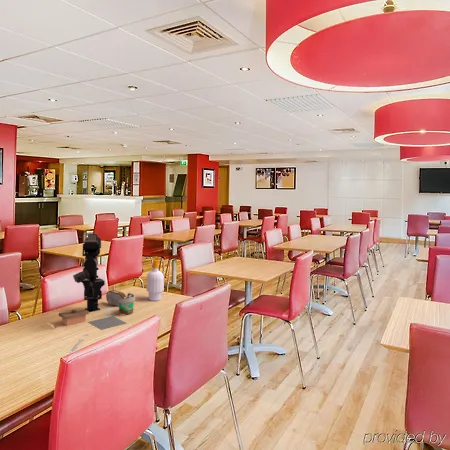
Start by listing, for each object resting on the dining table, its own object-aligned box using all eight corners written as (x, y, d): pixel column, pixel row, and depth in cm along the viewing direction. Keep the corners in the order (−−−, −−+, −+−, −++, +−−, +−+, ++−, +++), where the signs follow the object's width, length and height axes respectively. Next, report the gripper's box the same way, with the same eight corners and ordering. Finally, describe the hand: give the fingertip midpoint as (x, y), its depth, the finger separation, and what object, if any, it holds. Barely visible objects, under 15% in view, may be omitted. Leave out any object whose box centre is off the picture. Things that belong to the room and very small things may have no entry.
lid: (58, 315, 194) (58, 311, 194) (82, 310, 202) (82, 306, 202) (64, 319, 189) (64, 314, 189) (88, 314, 198) (88, 309, 197)
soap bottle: (157, 302, 235) (158, 262, 233) (142, 300, 239) (143, 261, 236) (166, 298, 245) (167, 259, 242) (151, 296, 248) (152, 258, 246)
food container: (129, 318, 206) (129, 300, 205) (118, 317, 207) (118, 298, 206) (138, 311, 218) (139, 293, 217) (128, 310, 219) (128, 292, 218)
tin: (127, 307, 225) (127, 292, 224) (123, 308, 222) (123, 294, 221) (109, 302, 233) (109, 288, 232) (105, 303, 230) (105, 289, 229)
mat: (87, 323, 197) (87, 322, 197) (112, 317, 207) (112, 316, 207) (101, 331, 187) (101, 329, 187) (127, 324, 197) (127, 323, 197)
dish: (62, 324, 195) (61, 315, 194) (80, 320, 201) (80, 311, 201) (66, 327, 191) (66, 318, 190) (85, 323, 198) (85, 314, 197)
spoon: (91, 337, 181) (91, 334, 180) (73, 357, 160) (73, 353, 160) (82, 337, 181) (82, 333, 181) (62, 356, 160) (62, 352, 160)
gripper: (67, 264, 201) (67, 294, 203) (83, 271, 187) (83, 303, 189) (88, 261, 208) (88, 290, 210) (105, 268, 195) (105, 299, 197)
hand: (90, 295), depth 201 cm, fingers open, 9 cm apart
